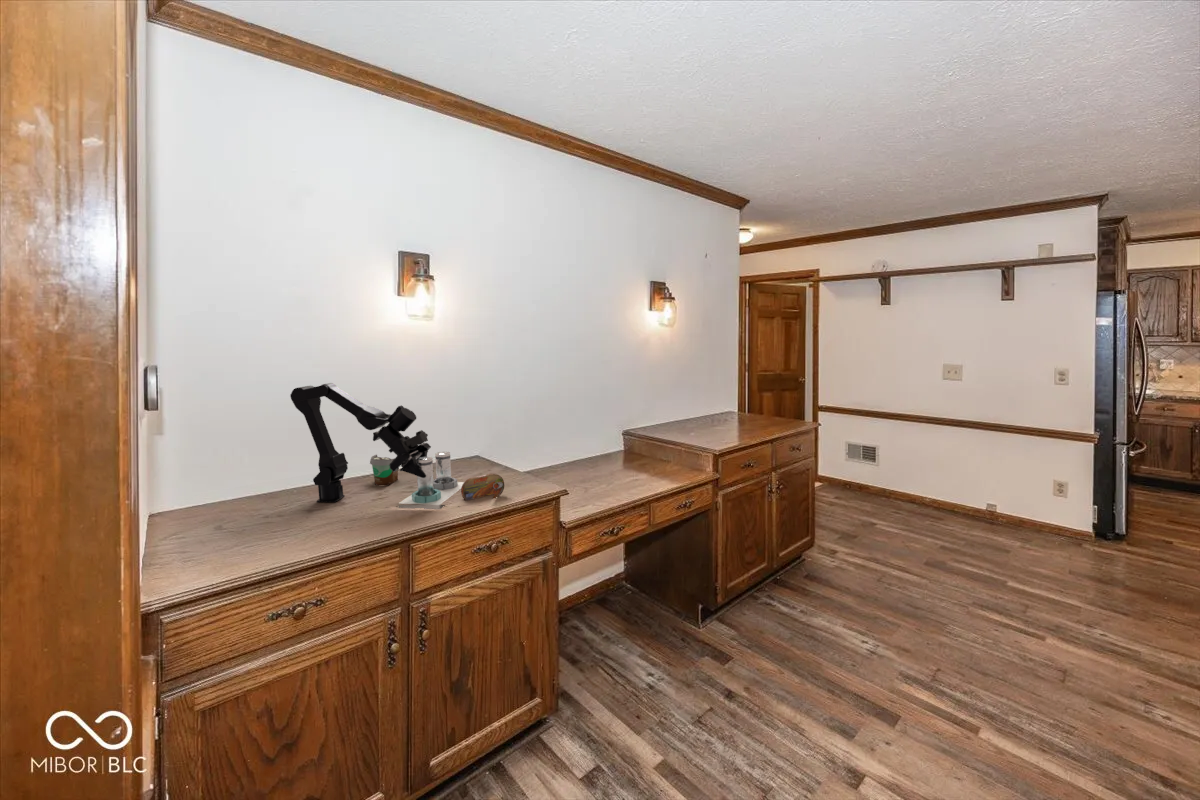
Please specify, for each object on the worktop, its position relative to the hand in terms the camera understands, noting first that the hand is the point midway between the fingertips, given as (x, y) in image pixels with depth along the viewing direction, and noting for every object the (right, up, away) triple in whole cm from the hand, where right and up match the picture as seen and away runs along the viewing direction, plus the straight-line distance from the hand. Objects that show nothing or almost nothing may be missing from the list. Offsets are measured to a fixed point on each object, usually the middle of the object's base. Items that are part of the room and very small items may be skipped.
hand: (429, 474), depth 174 cm
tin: (+17, -9, +5) cm, 20 cm away
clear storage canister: (-1, -6, +1) cm, 7 cm away
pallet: (0, -9, +8) cm, 12 cm away
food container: (-25, -7, +23) cm, 35 cm away
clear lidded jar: (+1, -6, +15) cm, 16 cm away
